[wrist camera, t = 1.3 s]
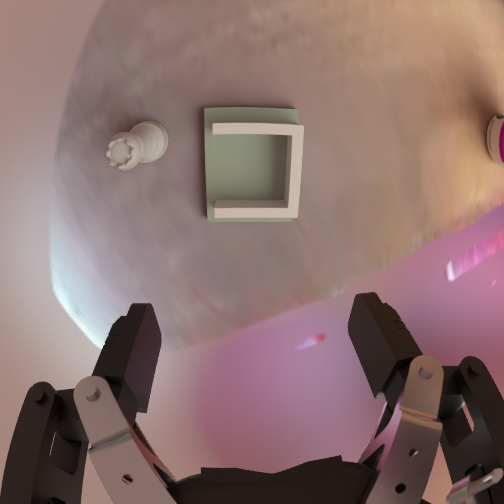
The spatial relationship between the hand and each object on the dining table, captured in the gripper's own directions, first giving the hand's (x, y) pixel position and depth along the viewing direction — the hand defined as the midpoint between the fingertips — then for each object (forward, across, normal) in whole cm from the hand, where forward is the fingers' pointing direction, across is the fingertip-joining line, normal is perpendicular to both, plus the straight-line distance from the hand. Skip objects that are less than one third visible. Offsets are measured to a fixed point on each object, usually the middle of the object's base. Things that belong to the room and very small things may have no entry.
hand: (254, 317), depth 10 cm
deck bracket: (+20, -1, -2) cm, 20 cm away
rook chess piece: (+20, +10, -5) cm, 23 cm away
